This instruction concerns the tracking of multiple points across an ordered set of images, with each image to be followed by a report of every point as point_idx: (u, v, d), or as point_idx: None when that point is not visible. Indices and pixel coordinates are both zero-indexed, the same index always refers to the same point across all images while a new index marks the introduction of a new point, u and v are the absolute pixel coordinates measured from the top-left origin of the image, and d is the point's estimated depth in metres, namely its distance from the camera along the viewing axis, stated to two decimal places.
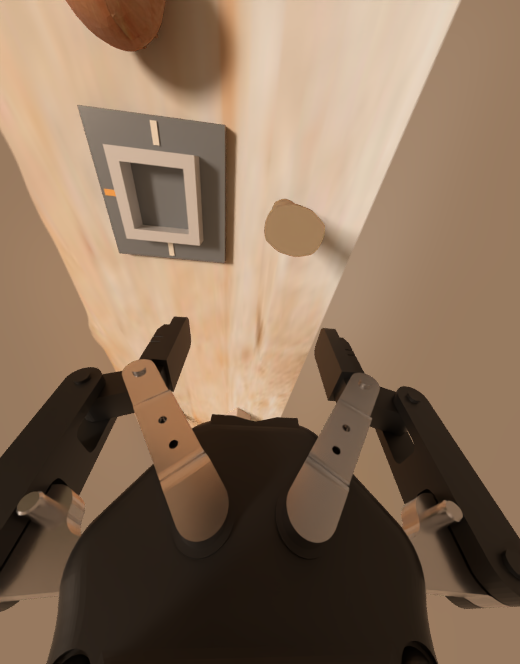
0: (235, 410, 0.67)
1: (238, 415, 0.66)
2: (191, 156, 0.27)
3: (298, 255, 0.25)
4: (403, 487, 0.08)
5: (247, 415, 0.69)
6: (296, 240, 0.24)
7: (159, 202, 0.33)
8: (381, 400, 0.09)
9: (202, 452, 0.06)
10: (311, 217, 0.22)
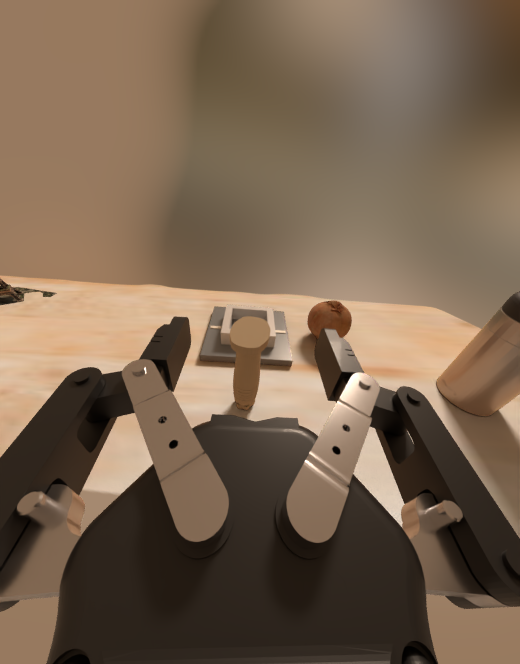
0: None
1: None
2: (275, 335, 0.44)
3: (230, 333, 0.26)
4: (403, 487, 0.08)
5: None
6: (243, 332, 0.27)
7: None
8: (381, 400, 0.09)
9: (202, 452, 0.06)
10: (263, 338, 0.26)
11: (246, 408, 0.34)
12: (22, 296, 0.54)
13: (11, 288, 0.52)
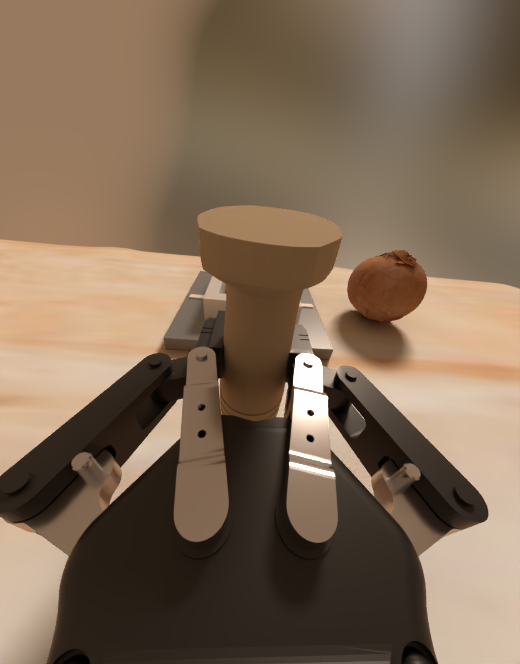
0: None
1: None
2: (300, 305, 0.25)
3: (201, 217, 0.07)
4: (364, 459, 0.09)
5: None
6: (250, 219, 0.08)
7: None
8: (323, 378, 0.10)
9: (222, 453, 0.06)
10: (326, 234, 0.07)
11: None
12: None
13: None
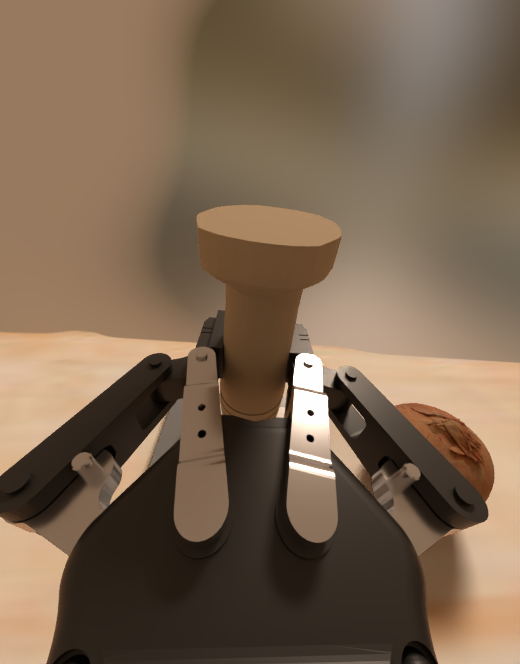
0: None
1: None
2: None
3: (200, 217, 0.07)
4: (364, 459, 0.09)
5: None
6: (249, 219, 0.07)
7: None
8: (323, 378, 0.10)
9: (222, 453, 0.06)
10: (325, 233, 0.07)
11: None
12: None
13: None
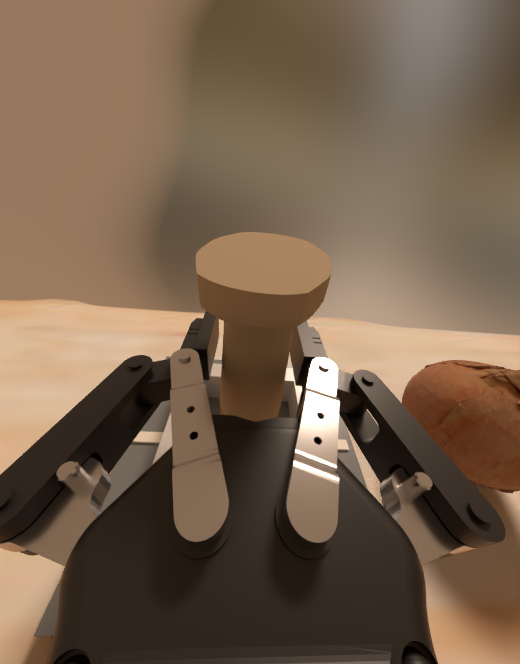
0: None
1: None
2: None
3: (199, 256, 0.07)
4: (375, 465, 0.09)
5: None
6: (245, 255, 0.08)
7: None
8: (339, 382, 0.10)
9: (216, 452, 0.06)
10: (316, 272, 0.07)
11: None
12: None
13: None
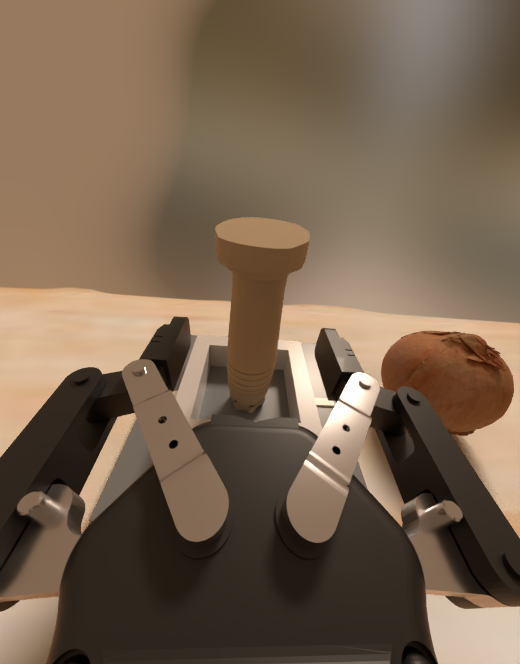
0: None
1: None
2: None
3: (217, 229, 0.11)
4: (403, 487, 0.08)
5: None
6: (249, 230, 0.11)
7: None
8: (381, 400, 0.09)
9: (202, 452, 0.06)
10: (298, 239, 0.11)
11: (251, 410, 0.19)
12: None
13: None
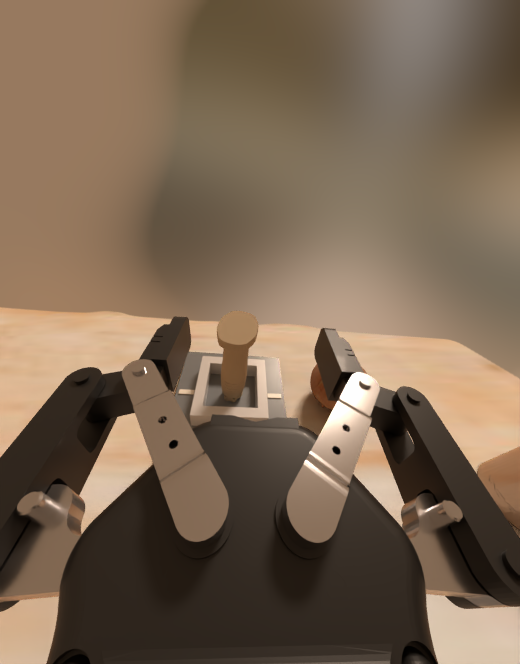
0: None
1: None
2: (267, 415, 0.31)
3: (218, 329, 0.26)
4: (403, 487, 0.08)
5: None
6: (231, 327, 0.26)
7: None
8: (381, 400, 0.09)
9: (202, 452, 0.06)
10: (251, 335, 0.26)
11: (233, 400, 0.35)
12: None
13: None
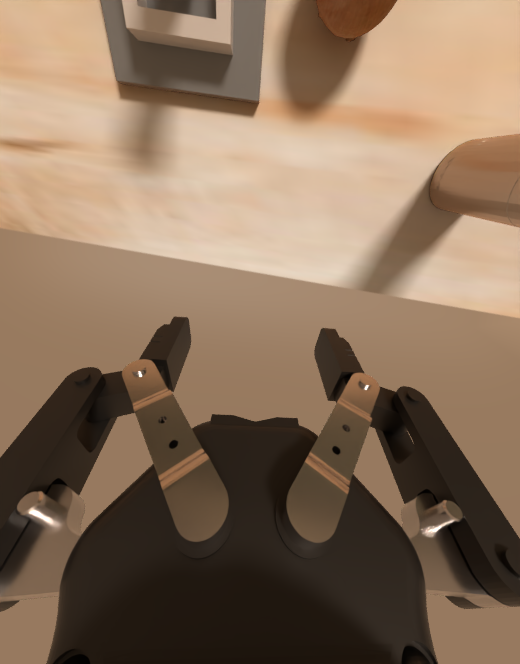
0: None
1: None
2: (229, 39, 0.24)
3: None
4: (403, 487, 0.08)
5: None
6: None
7: None
8: (381, 400, 0.09)
9: (202, 452, 0.06)
10: None
11: None
12: None
13: None
